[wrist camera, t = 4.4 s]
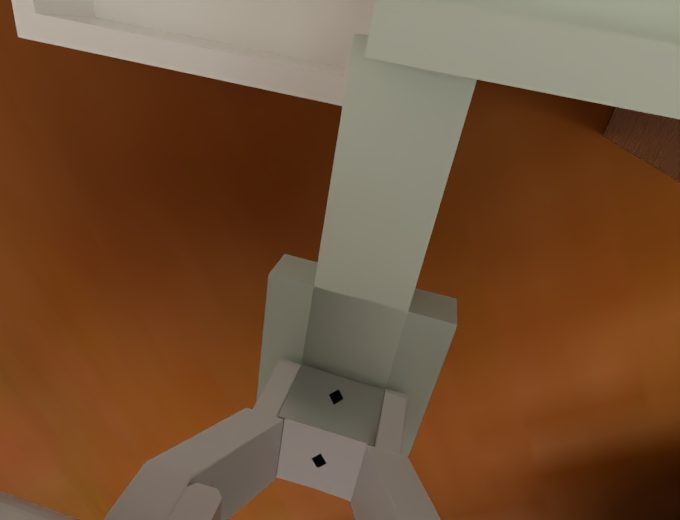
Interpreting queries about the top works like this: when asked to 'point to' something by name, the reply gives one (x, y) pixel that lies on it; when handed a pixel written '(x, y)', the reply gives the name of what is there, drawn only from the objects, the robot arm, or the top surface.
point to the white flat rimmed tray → (213, 37)
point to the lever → (438, 167)
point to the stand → (648, 138)
